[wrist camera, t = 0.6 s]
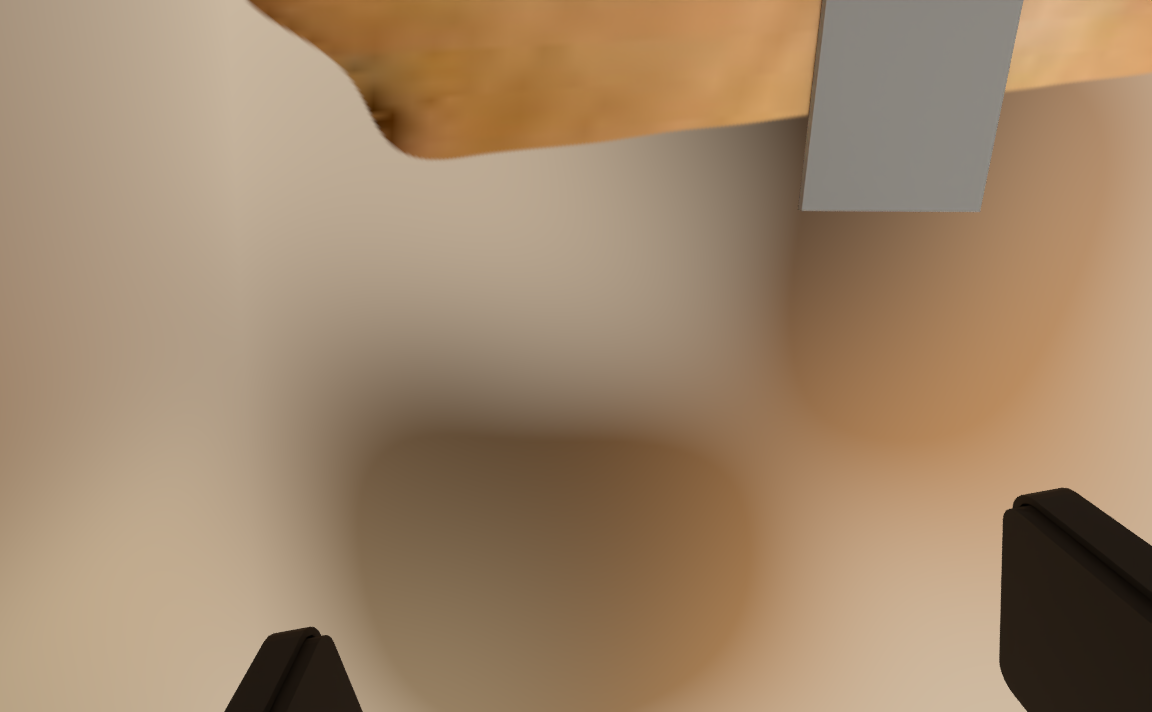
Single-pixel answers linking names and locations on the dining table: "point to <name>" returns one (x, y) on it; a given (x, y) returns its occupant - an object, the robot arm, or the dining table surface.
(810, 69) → the dining table surface
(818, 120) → the mat
